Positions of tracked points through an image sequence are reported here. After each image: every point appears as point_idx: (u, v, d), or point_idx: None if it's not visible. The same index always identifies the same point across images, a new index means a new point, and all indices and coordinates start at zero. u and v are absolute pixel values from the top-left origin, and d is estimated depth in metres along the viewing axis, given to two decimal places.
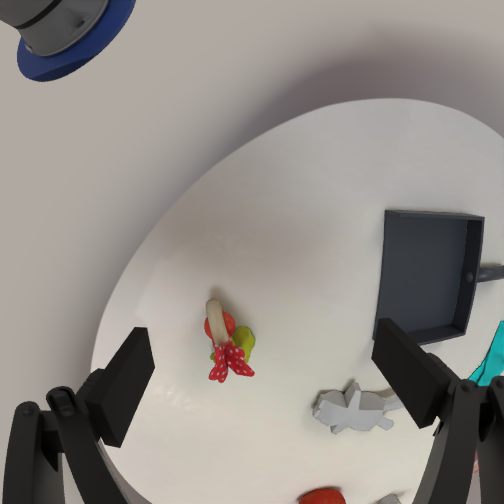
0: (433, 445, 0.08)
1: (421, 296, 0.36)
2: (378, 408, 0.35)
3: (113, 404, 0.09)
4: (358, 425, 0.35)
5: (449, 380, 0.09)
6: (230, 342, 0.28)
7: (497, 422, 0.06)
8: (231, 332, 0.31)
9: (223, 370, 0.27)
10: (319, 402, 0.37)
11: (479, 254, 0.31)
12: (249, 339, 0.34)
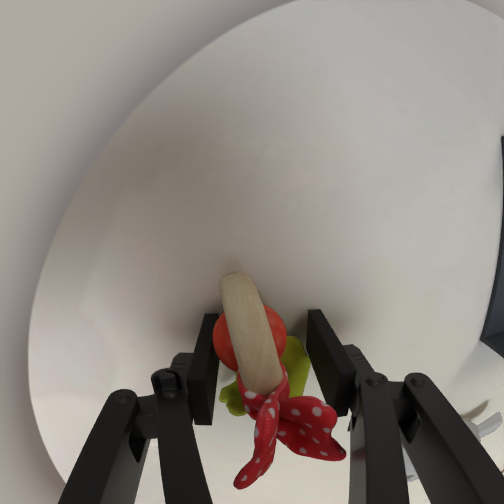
0: (351, 442, 0.09)
1: None
2: None
3: (209, 382, 0.11)
4: None
5: (354, 371, 0.11)
6: (287, 384, 0.10)
7: (423, 423, 0.07)
8: (280, 354, 0.12)
9: (271, 459, 0.08)
10: None
11: None
12: (303, 362, 0.16)
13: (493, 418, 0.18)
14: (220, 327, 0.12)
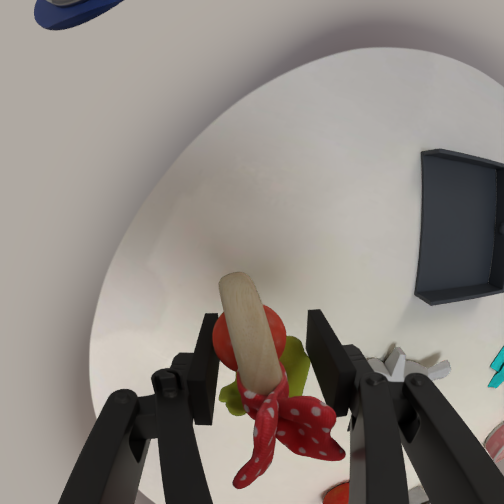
0: (351, 442, 0.09)
1: (460, 248, 0.31)
2: None
3: (209, 382, 0.11)
4: None
5: (354, 371, 0.11)
6: (286, 384, 0.10)
7: (423, 423, 0.07)
8: (279, 354, 0.12)
9: (270, 459, 0.08)
10: None
11: None
12: (302, 362, 0.16)
13: (441, 364, 0.32)
14: (220, 327, 0.12)
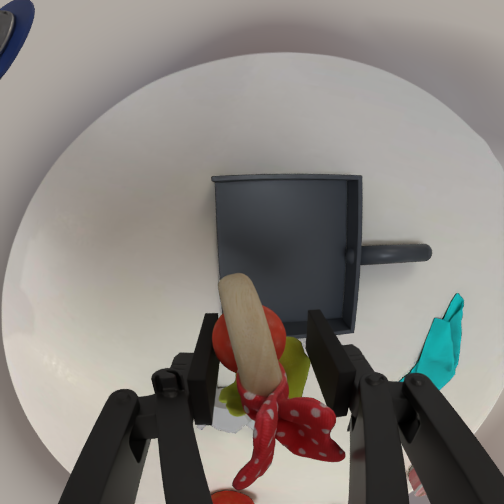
0: (351, 442, 0.09)
1: (281, 279, 0.34)
2: None
3: (209, 382, 0.11)
4: (218, 424, 0.33)
5: (354, 371, 0.11)
6: (286, 385, 0.10)
7: (423, 423, 0.07)
8: (279, 355, 0.12)
9: (270, 460, 0.08)
10: None
11: (359, 226, 0.29)
12: (302, 363, 0.16)
13: None
14: (219, 328, 0.12)
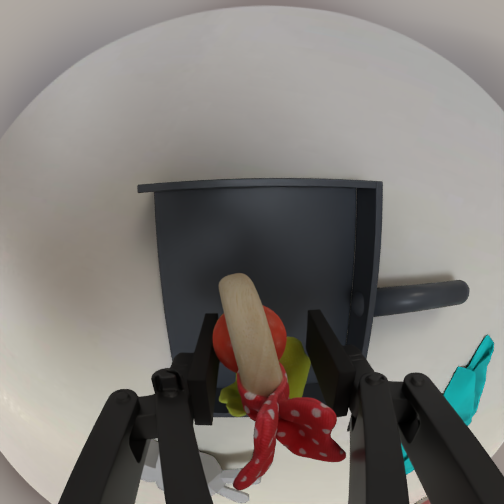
0: (351, 442, 0.09)
1: None
2: None
3: (209, 382, 0.11)
4: None
5: (353, 371, 0.11)
6: (287, 385, 0.10)
7: (423, 423, 0.07)
8: (280, 355, 0.12)
9: (271, 460, 0.08)
10: None
11: (375, 262, 0.18)
12: (303, 363, 0.16)
13: None
14: (220, 328, 0.12)
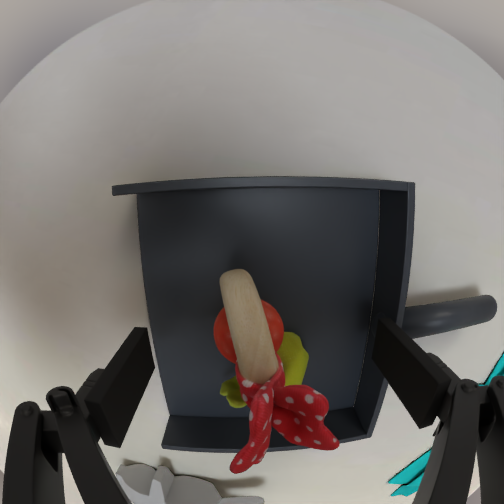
0: (433, 445, 0.08)
1: None
2: None
3: (113, 404, 0.09)
4: None
5: (449, 380, 0.09)
6: (282, 374, 0.11)
7: (497, 422, 0.06)
8: (277, 346, 0.13)
9: (266, 446, 0.09)
10: None
11: (404, 281, 0.14)
12: (301, 357, 0.17)
13: (244, 499, 0.20)
14: (220, 320, 0.13)
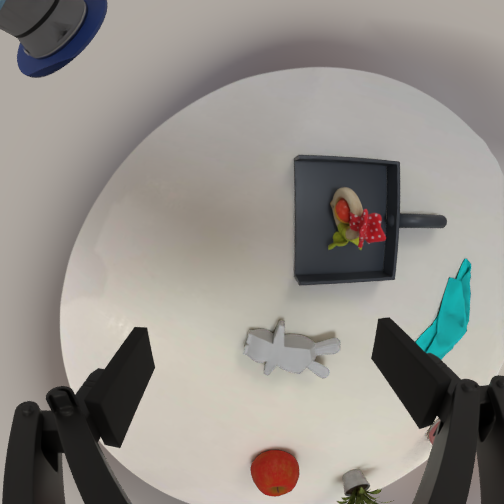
0: (433, 445, 0.08)
1: None
2: (304, 347, 0.42)
3: (113, 404, 0.09)
4: (286, 364, 0.42)
5: (449, 380, 0.09)
6: None
7: (497, 422, 0.06)
8: None
9: (366, 232, 0.33)
10: (247, 337, 0.44)
11: (398, 197, 0.38)
12: None
13: (329, 340, 0.44)
14: (340, 203, 0.37)
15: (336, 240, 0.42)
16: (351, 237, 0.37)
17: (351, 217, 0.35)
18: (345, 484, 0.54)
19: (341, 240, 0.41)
